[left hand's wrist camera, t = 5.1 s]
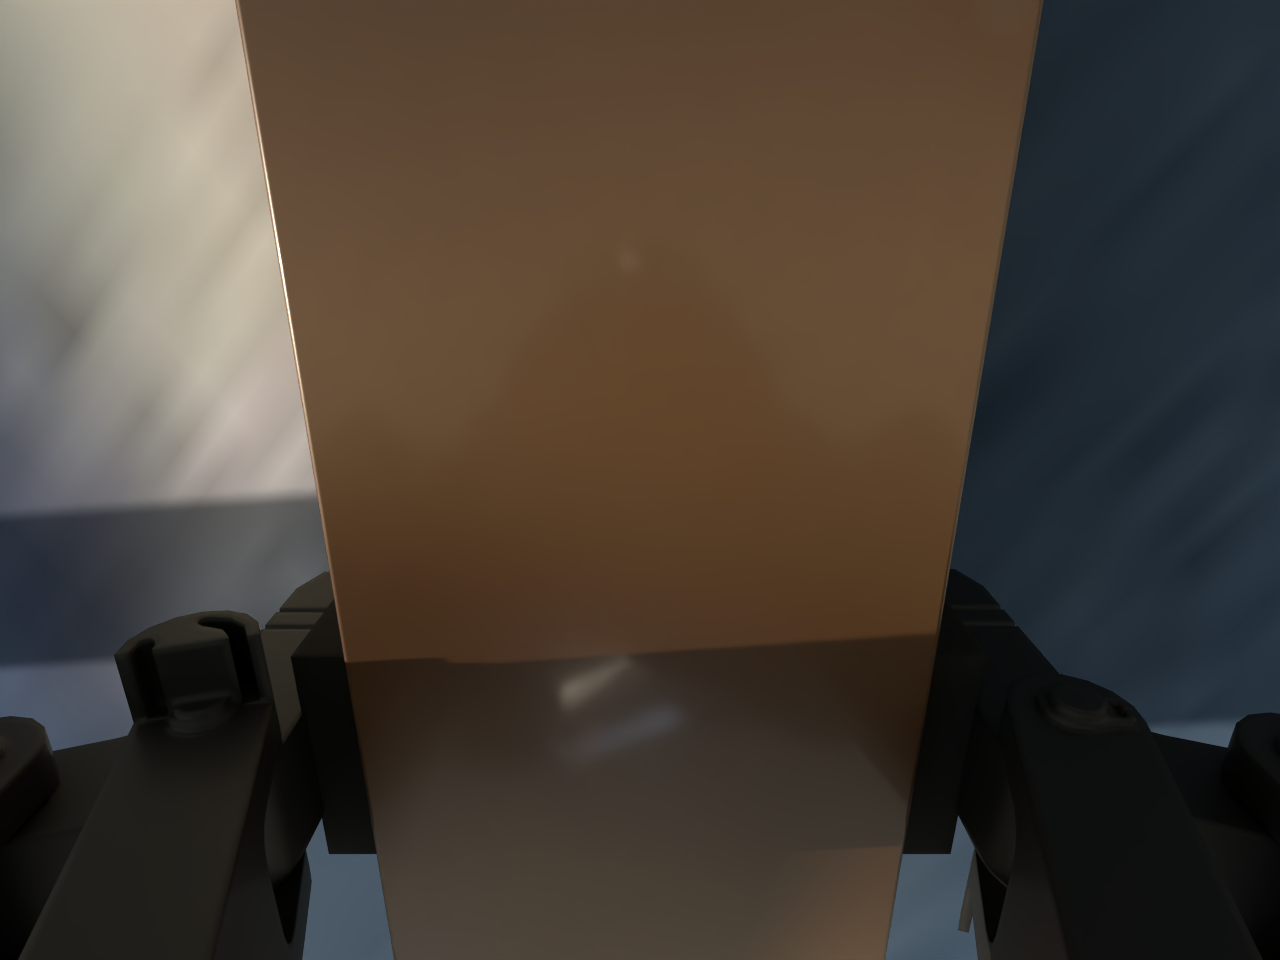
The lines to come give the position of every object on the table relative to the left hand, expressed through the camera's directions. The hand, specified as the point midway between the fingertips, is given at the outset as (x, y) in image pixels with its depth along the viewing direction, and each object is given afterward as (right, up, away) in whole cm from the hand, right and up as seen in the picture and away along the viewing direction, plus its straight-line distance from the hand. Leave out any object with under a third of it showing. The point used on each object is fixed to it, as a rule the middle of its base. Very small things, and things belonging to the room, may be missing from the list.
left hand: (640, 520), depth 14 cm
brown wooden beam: (0, +21, -8) cm, 23 cm away
